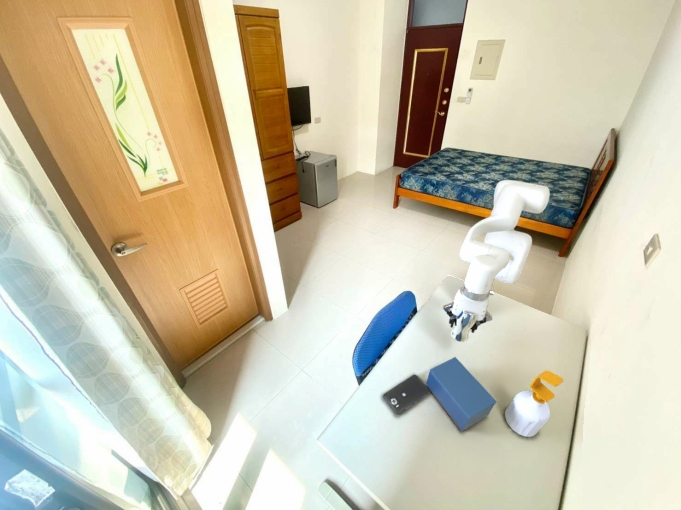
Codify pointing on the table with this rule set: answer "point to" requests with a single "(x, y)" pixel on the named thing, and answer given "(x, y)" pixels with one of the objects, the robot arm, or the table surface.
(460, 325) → the beer glass
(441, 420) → the table surface
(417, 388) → the smartphone
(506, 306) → the table surface
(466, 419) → the blue rectangular box
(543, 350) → the table surface
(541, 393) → the soap bottle
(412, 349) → the table surface
